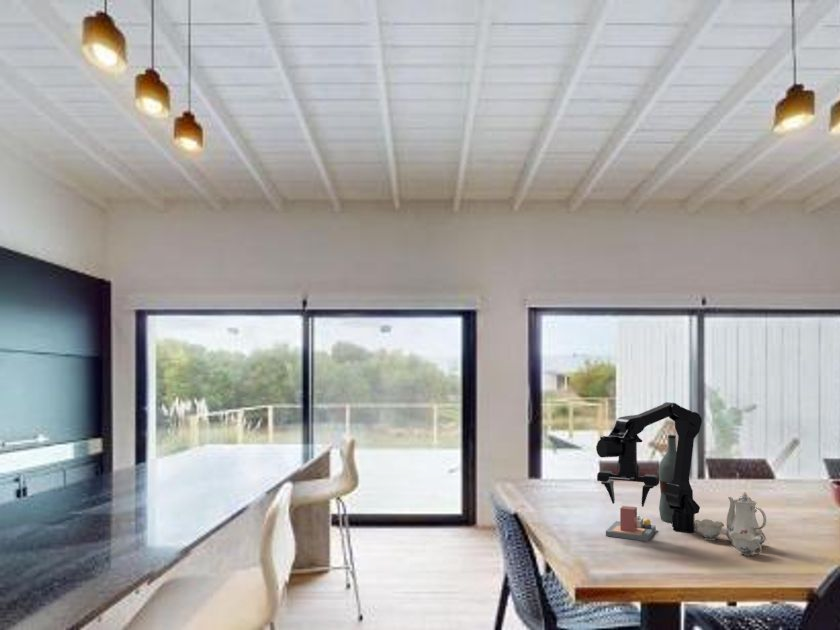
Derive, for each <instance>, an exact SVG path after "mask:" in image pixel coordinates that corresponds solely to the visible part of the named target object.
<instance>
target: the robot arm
mask: <svg viewBox="0 0 840 630" xmlns="http://www.w3.org/2000/svg"><path fill="white" fill-rule="evenodd" d="M667 418H669V419H670V420H672V421H673V422H674V429H675V431H676V434H677V436H678V437H677V438H678V439H677V444H676V451H677V453H676V462H675V470H674V478H673V480H672V482H671V483H666V491H665V494H664V495H666V501H667V502H668V504H669V507H670V509H673V510H674V514H673V515H672V523H671V526H672V531H677V532H684V533H695V531H696V530H697V529H696V528H697V527H696V525H695V524H696V522H695V521H696V518H695V517H696V516H695V515H696V514H699V512H700V508H701V507H700V505H699V504H698V503H697V502H696V501H695V500H694V495H693V494H694V492H693V491H694V490H693V488H692V486H691V483H690V476H691V470H692V469H691V468H692V458H693V452H694V441H695V438H696V437H697V435H698V434H699V433H700V432H701V431H700V430H701V427H702V423H703V419H702V417H701V415H700V413H698V412H696V411H692V410H690V409H687V408H685V407H683V406H680V405H679V404H678V403H675V402H666V401H665V402H663V403H662V404H661V405H658V406H656V407H652V408H651V409H648V410H645V411H644V412H641V413H639V414H634V415H633V414H632V415H631V414H630V415H625V416H620V417H618V418H616V420H615V424H614V425H613V427H612V429H611V431H610V432H609V434H608V435H607V436H606V435H600V437H599V440H598V441H597V443H596V446H595V447H596V448H595V449H596V454H597V455H598V457H599V458H618V460H617V466H616V470H617V471H618V474H617V473H614V472H613V471H612V470H600V471H598V473H597V475H596V481H597V482H600V483H601V485H604V487H605V489H606V490H607V493H608V495H609V498H610V500H611V503H612V504H615V503H616V502H615V500H616V499H615V498H616V497H615V490H614V482H615V481H626V482H637V483H643V484H644V485H643V486H642V490H641V507H642V508H644V506H645V503H646V500H647V496H648V493H649V492H650V490H651V489H654V487H657V486H658V485H660V480H659V474H658V475H657V474H653V473H651V474H650V473H649V474H648V473H646V474H645V475H643V476H641V475H640V465H639V464H638V459H637V458H638V456H637V455H638V452H637V450H638V446H637V445H638V443H643V440H642V439H641V438H640V437H639V434H640V433H641V432H644V430H645V428H646V427H648V426H650V425H653V424H655V423H657V422H659V421H662V420H664V419H667Z"/></svg>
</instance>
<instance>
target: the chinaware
mask: <svg viewBox="0 0 840 630" xmlns="http://www.w3.org/2000/svg"><path fill="white" fill-rule="evenodd" d="M728 500H729V508H728V512H727V515H726V528H727V530H726V532H725V533H726V534H725V535H726V537H727V538H728V540H729V541H730V542H731V543H730V544H731V546H734V548H735V549H736V550H737V551H738V552H739V554H740V553H741V554H744V555H743V556H746V555H750V556H754V555H755V554H757V555H759V554H761V553H762V550H763V549H762V548H763V547H762V545H763V544H764V543H765V542H766V540H767V538H766V535H765V533H764V532H763V530H762V529H764V528H765V527H766V524H767V515H766V512H765V511H764V510H763V509H762V508H761V507H759V506H757V504H758V503H757V501H755V500H752V498H751V497H749V496H748V494H747V492H743V493H742V495H741V496H739V497H738V498H737V499H733V497H731V496H728ZM758 510H759V512H760V513H761V514H762V518H763V519H762V520H763V522H762V525H761V526H760V525H759V523H758V519H757V516H756V513H757V512H758ZM695 524H696V526H697V529H698V532H699V533H700V535H701V536H703V537H705V538H703V540H706V541H715V540H716V538H717V537H719V535H720V534H721V533H722V529H723V527H725V524H724V522H722V521H721V520H720V521H719V520H717V521H713V520H711V519H702V520H699V519H695ZM757 548H759V552H756V550H758V549H757ZM750 553H751V554H750ZM741 554H740V555H741Z"/></svg>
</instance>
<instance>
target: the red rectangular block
mask: <svg viewBox="0 0 840 630" xmlns="http://www.w3.org/2000/svg"><path fill="white" fill-rule="evenodd" d="M619 511H620V514H619V515H620V518H619V519H620V521H619V522H620V528H621V530H622V531H630V532H635V531H636V530H637V515H638V507H637V506H629V505H628V506H627V505H622V506H621V507H620V508H619Z"/></svg>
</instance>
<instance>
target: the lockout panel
mask: <svg viewBox="0 0 840 630" xmlns="http://www.w3.org/2000/svg"><path fill="white" fill-rule="evenodd" d="M655 531H657V529H656V525H654V524H653V525H652V524H651V519H649V518H644V517H641V516H640V520H639V521H638V520H637V530H636V531H635V532H630V531H622V530H621V528H620V521H618V520H616V521H614V522H613V523H612V525H610V526H609V527H608V528H607V529H606V530H605V537H610V538H611V537H612V538H620V539H629V540H636V541H645V542H648V541H649V540H650V539H651V537H652V535H653V534H654V533H655Z"/></svg>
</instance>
